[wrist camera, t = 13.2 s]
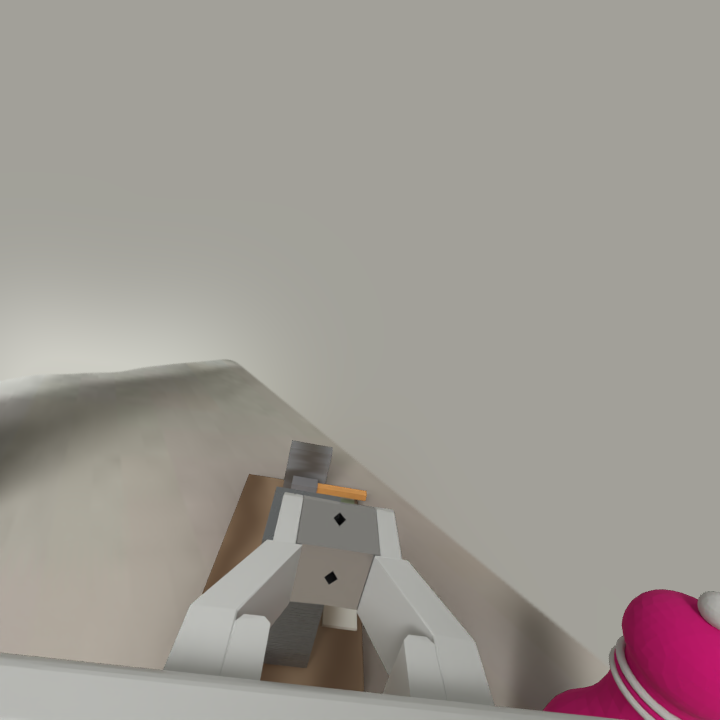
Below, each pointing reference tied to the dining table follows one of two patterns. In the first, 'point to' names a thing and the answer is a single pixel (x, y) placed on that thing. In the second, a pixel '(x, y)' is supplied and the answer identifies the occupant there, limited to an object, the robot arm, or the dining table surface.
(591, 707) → the pepper mill
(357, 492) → the wood and grey stick
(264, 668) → the gauge bench
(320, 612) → the brushed steel block
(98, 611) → the dining table surface
